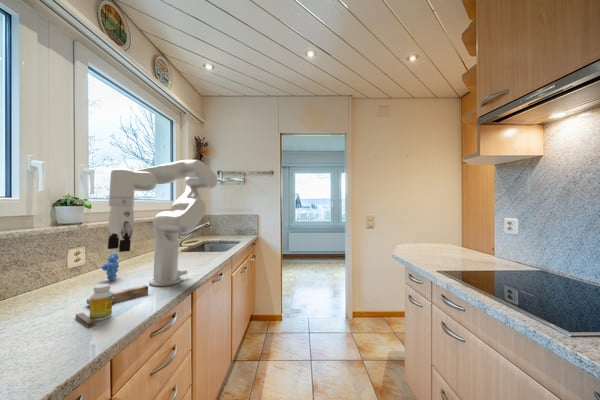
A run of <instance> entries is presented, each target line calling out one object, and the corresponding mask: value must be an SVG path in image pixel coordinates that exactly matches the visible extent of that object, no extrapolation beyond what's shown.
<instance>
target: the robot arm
mask: <svg viewBox="0 0 600 400" xmlns="http://www.w3.org/2000/svg"><path fill="white" fill-rule="evenodd" d="M182 179H185V182H184V183H185V191H184V193H183V194H182V195H180V196H179V197H178V198H177V199H176V200H175V201H174V203H172V205H171V206H170V207H171V208H170V211H161V212H159V213H157V214H156V215H155V216H154V217H153V221H152V227H153V233H154V257H153V259H154V261H153V278H152V279H150V280H149V281H148V282H149V285H150V286H153V287H154V286H155V287H166V286H172V285H176V284H179V283H180V282H182V276H186V275H188V270H179V269H178V267H179V266H178V265H179V246H180V245H179V243H180V242H179V238H178V236H177V234H181V235H182V234H183V235H185V234H188V233H190V232H192V230H193V229H195V227H196V226H197V225H198V223H199V222H200V221H201V220H202V219H203V217H204V216H205V213H206V210H207V206H206V203H205V202H204V201H203V200H202V199H201V197H202V196H201V194H200V192H199V189H213V188H215V187H216V186H217V184H218V177H217V175H216V173H215V172H214V171H213V170H212V169H211V168H210V167H209V166H207V164H206V163H204V162H203V161H201V160H200V159H183V160H182V159H181V160H177V161H173V162H169V163H164V164H159V165H155V166H150V167H144V168H143V167H142V168H139V169H134V170H131V169H127V168H113V169H112V170H111V172H110V182H109V194H108V195H109V197H108V207H110V210H109V218H108V229H107V230H108V235H107V237H108V240H107V241H108V242H107V249H108V250H112V249H113V250H114V249H116V250H117V249H118V250H119V252H120V253H122V252H124V253H125V252H130V251H131V242H132V236H133V233H134V229H135V214H134V212H135V211H134V206H135V192H150V191H152V190H155V188H156V187H157V186H158V185H165V184H171V183H175V182H176V181H181V180H182Z"/></svg>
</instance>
